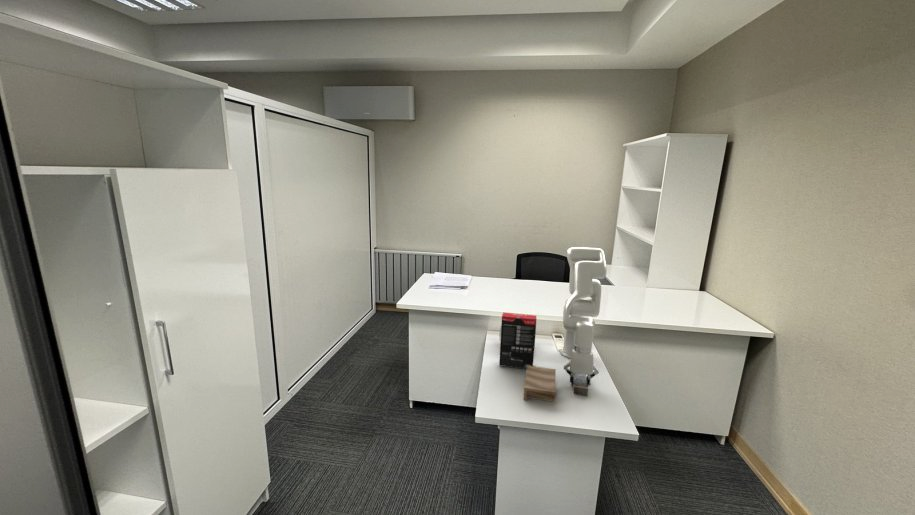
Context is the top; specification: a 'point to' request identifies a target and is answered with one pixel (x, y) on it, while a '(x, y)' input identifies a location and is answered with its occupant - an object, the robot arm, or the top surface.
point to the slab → (580, 384)
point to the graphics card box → (517, 340)
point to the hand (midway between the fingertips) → (579, 384)
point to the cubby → (540, 383)
